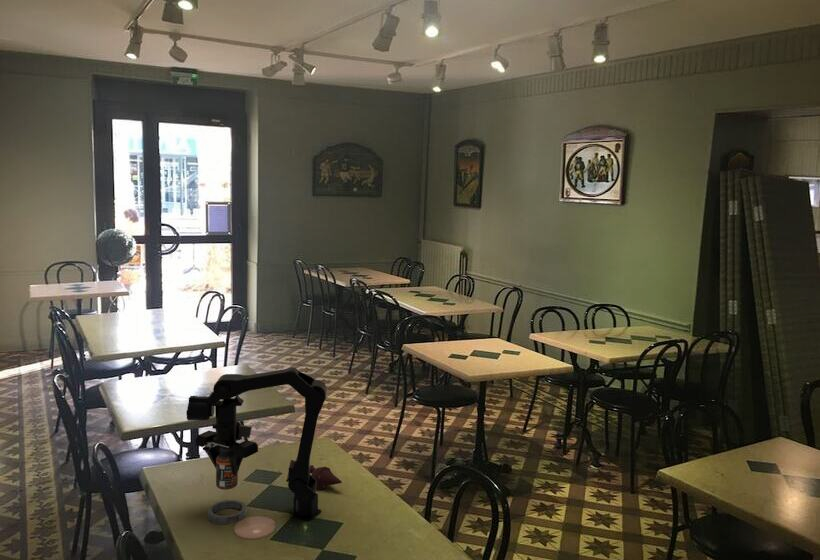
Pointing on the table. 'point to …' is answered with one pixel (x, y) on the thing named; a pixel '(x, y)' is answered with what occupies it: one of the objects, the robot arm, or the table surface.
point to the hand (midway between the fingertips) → (226, 472)
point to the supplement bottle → (225, 470)
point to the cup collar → (230, 518)
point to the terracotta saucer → (254, 527)
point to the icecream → (324, 477)
